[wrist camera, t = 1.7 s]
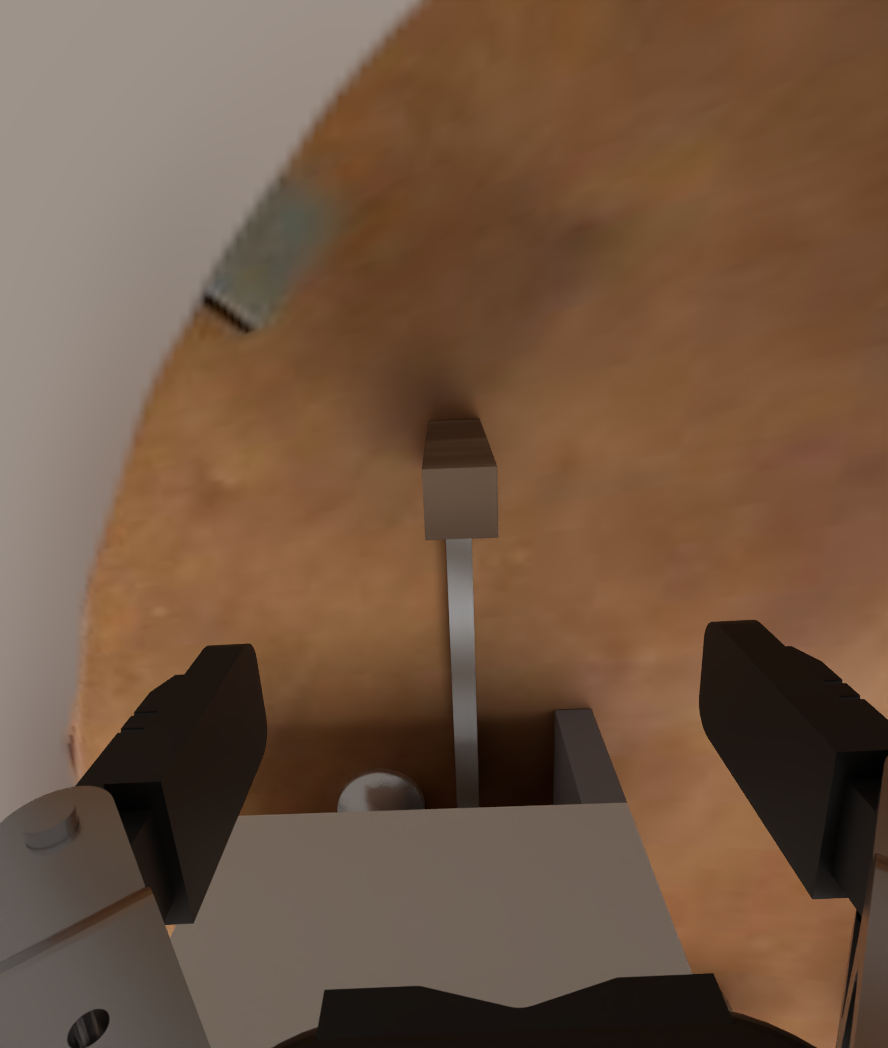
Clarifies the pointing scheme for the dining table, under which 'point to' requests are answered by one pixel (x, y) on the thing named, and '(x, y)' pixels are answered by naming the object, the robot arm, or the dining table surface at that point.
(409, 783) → the ball
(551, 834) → the cabinet
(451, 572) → the blade tool
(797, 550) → the dining table surface
